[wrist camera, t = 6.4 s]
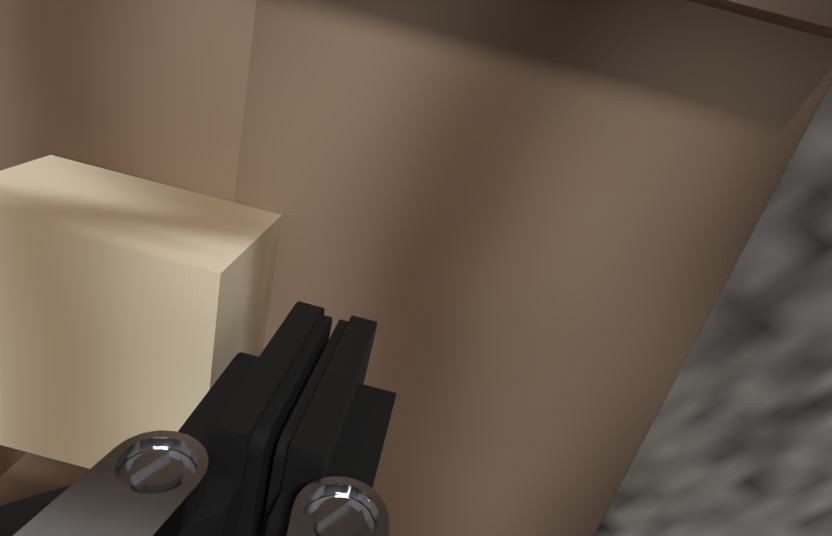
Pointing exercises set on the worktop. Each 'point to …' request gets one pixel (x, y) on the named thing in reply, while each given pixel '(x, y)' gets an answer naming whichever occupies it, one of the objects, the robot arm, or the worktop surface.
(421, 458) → the box
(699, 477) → the worktop surface
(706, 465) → the worktop surface
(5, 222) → the maple block
